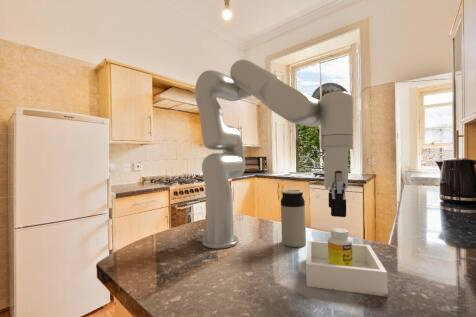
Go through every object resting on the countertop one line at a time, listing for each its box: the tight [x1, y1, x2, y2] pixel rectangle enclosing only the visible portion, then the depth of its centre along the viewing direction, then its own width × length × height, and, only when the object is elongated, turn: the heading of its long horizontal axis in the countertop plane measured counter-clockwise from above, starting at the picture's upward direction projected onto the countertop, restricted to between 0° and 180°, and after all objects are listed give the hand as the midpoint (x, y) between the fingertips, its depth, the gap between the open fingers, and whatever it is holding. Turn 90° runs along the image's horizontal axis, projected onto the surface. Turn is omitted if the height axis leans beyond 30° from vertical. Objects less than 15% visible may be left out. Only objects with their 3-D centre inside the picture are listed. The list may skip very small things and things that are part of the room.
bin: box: [305, 240, 389, 298], centre depth 58 cm, size 16×16×5 cm
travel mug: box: [280, 189, 307, 248], centre depth 80 cm, size 8×8×18 cm
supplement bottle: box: [327, 227, 353, 267], centre depth 58 cm, size 6×6×10 cm
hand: (336, 211), depth 59 cm, fingers open, 9 cm apart
